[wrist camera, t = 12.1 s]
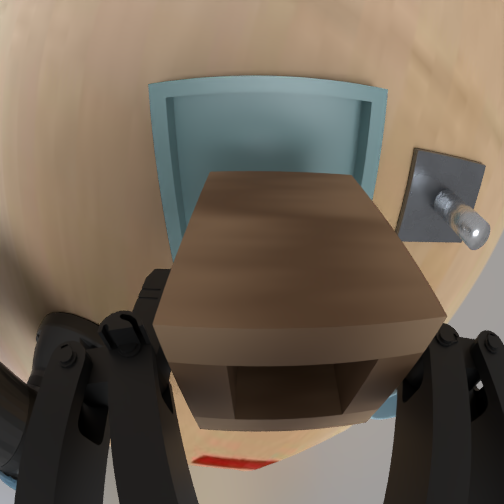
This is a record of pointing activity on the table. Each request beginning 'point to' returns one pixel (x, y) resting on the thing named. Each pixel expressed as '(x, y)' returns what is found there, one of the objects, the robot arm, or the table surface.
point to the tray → (260, 133)
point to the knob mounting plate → (442, 201)
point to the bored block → (291, 304)
